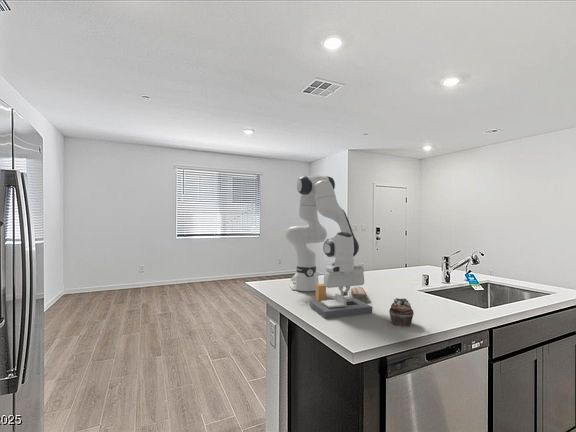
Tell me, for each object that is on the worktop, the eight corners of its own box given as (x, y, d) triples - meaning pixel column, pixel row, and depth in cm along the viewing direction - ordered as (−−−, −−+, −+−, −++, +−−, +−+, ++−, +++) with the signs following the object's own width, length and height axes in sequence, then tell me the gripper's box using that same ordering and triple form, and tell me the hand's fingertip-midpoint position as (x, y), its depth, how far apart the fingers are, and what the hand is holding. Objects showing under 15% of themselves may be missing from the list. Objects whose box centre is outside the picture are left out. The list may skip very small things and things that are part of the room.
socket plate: (310, 308, 146) (310, 301, 146) (354, 303, 154) (354, 297, 154) (324, 318, 131) (324, 311, 131) (372, 313, 138) (372, 306, 138)
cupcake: (385, 319, 130) (385, 296, 130) (407, 319, 130) (407, 296, 130) (394, 327, 120) (394, 302, 120) (418, 327, 121) (418, 302, 121)
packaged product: (370, 294, 156) (351, 293, 157) (370, 303, 156) (351, 302, 157) (366, 286, 174) (348, 285, 175) (366, 294, 174) (348, 293, 175)
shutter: (320, 302, 144) (320, 295, 144) (337, 300, 147) (337, 293, 147) (328, 307, 136) (328, 299, 136) (346, 306, 138) (346, 298, 138)
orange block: (315, 303, 154) (315, 284, 154) (322, 303, 155) (322, 283, 155) (318, 305, 150) (318, 285, 150) (326, 305, 151) (326, 285, 151)
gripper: (360, 264, 149) (359, 292, 150) (322, 266, 143) (322, 295, 143) (367, 266, 143) (366, 295, 144) (328, 268, 137) (327, 299, 137)
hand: (344, 295), depth 143 cm, fingers closed
